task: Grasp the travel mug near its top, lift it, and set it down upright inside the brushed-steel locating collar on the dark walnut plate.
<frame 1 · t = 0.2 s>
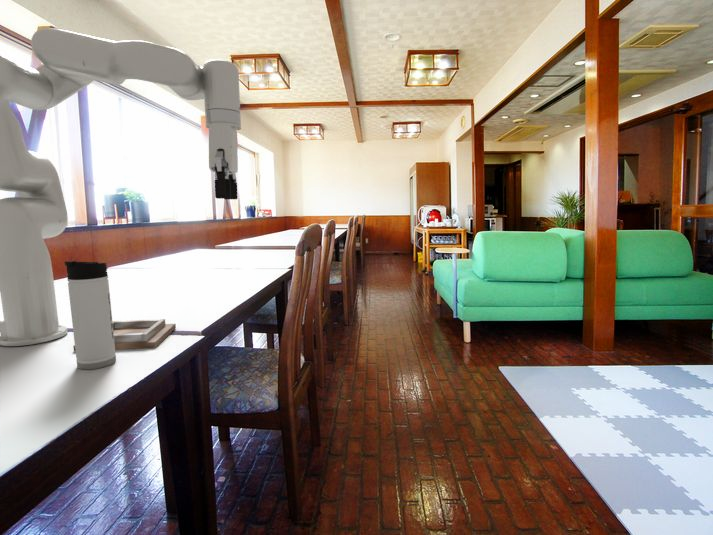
hand: (227, 198, 94), 31 cm above the table, tool pointing down, fingers open, 9 cm apart
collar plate: (129, 338, 92), on the table
travel mug: (96, 364, 78), on the table
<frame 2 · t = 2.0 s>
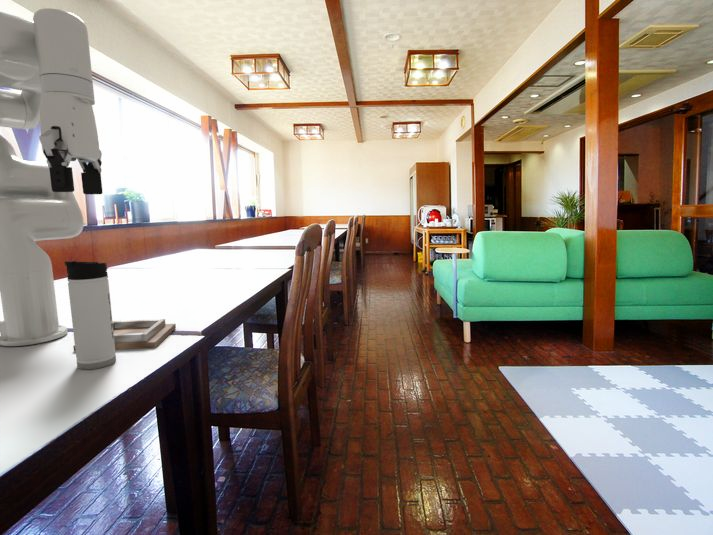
hand: (79, 193, 73), 32 cm above the table, tool pointing down, fingers open, 9 cm apart
nothing on the table moved.
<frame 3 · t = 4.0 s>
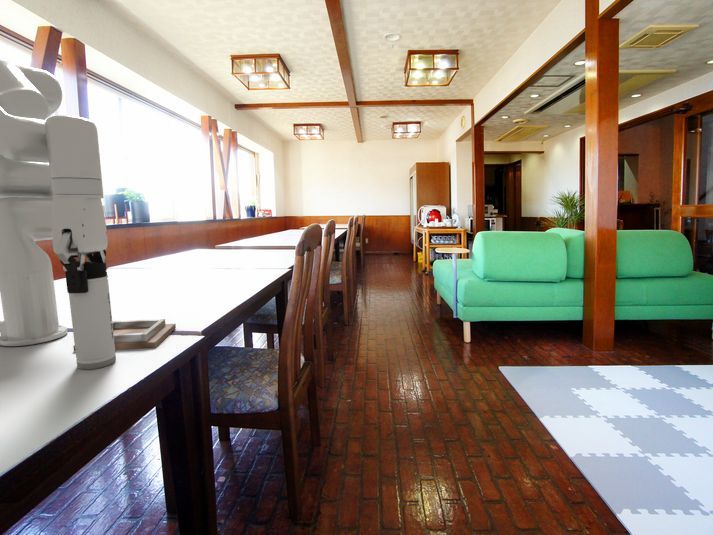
hand: (88, 288, 76), 15 cm above the table, tool pointing down, fingers closed on travel mug, 6 cm apart
travel mug: (96, 364, 78), on the table, touching gripper
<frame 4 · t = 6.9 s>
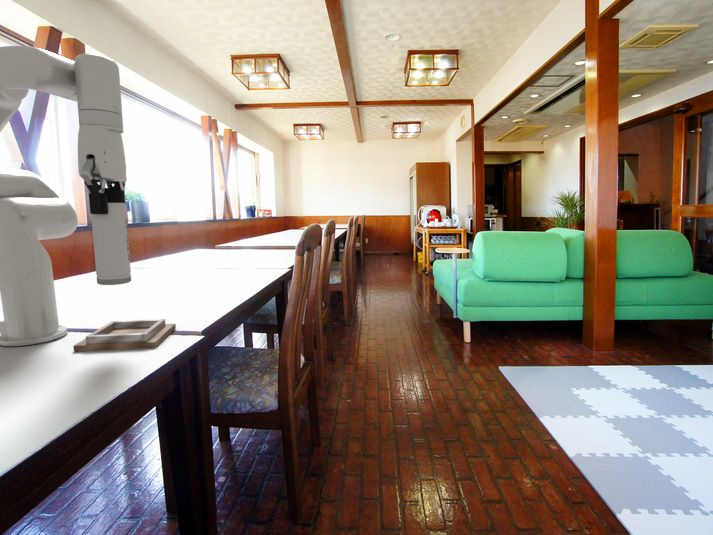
hand: (108, 213, 85), 28 cm above the table, tool pointing down, fingers closed on travel mug, 6 cm apart
travel mug: (113, 283, 87), point 13 cm above the table, touching gripper
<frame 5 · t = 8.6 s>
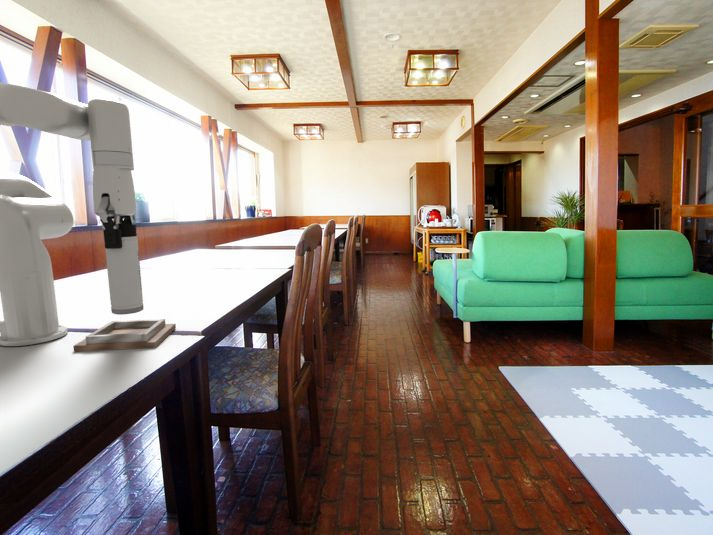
hand: (121, 246, 89), 21 cm above the table, tool pointing down, fingers closed on travel mug, 6 cm apart
travel mug: (127, 312, 91), point 6 cm above the table, touching gripper
when the fingers open (17 cm above the table, at t = 9.9 s): travel mug drops 1 cm, resting on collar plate.
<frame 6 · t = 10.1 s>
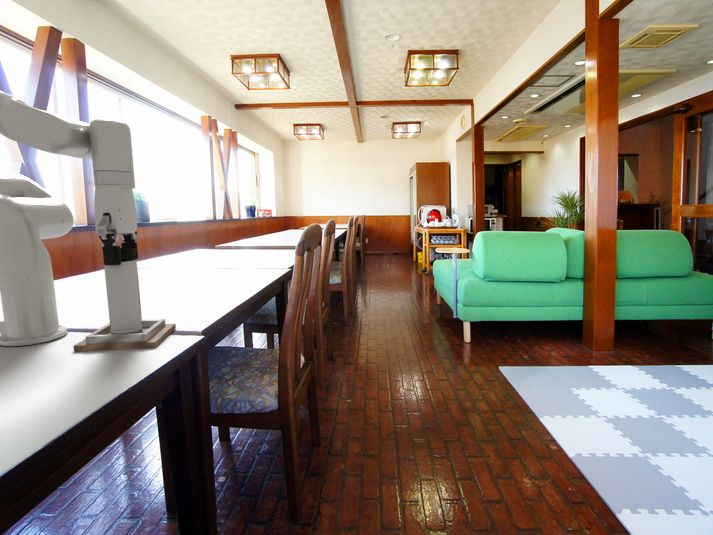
hand: (122, 262, 90), 17 cm above the table, tool pointing down, fingers open, 8 cm apart
travel mug: (126, 335, 92), point 1 cm above the table, touching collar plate
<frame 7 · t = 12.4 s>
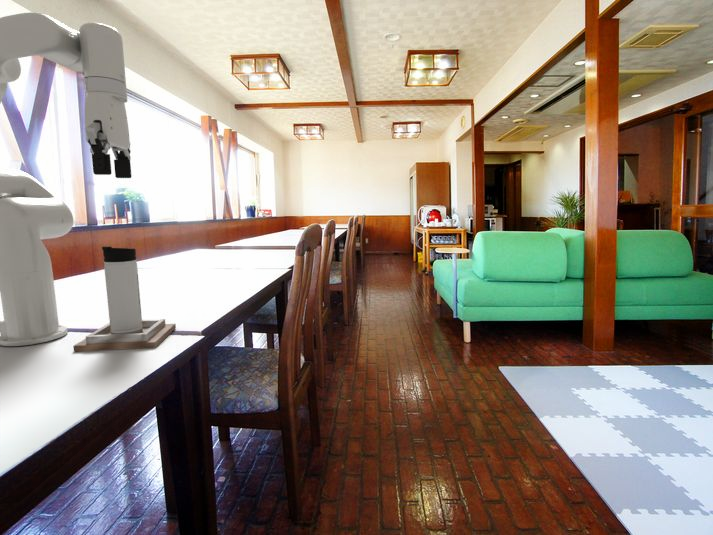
hand: (113, 176, 87), 36 cm above the table, tool pointing down, fingers open, 9 cm apart
nothing on the table moved.
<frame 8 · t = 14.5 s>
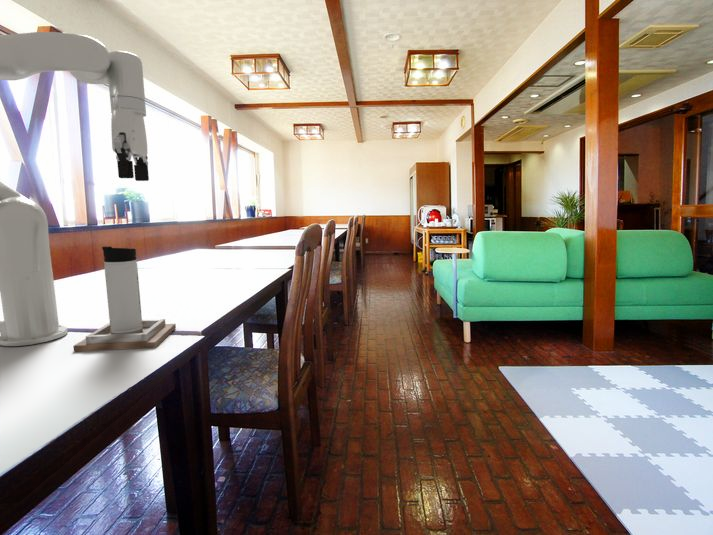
hand: (134, 179, 103), 36 cm above the table, tool pointing down, fingers open, 9 cm apart
nothing on the table moved.
at the end: travel mug 0.5 cm from the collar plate (horizontally); travel mug tilted 0°; the gripper is holding nothing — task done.
